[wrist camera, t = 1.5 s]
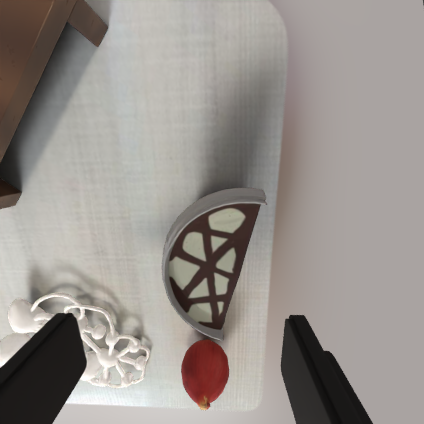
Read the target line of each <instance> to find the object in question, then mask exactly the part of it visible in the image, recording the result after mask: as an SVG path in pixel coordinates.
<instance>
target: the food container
mask: <svg viewBox="0 0 424 424" xmlns="http://www.w3.org/2000/svg"><path fill="white" fill-rule="evenodd" d="M265 200H266V196H265V193H264V191H263V190H261V189H254V188H232V189H226V190H221V191H218V192H215V193H212V194H209V195H207V196H205V197H203V198H201V199H199V200H197V201H196V202H194V203H193V204H192V205H190V206H189V207H188V208H187V209H186V210H185V211H184V212H183V213H182V214H181V215H180V216H179V217H178V218H177V219H176V221H175V222H174V224H173V225H172V227H171V229H170V231H169V233H168V235H167V238H166V242H165V245H164V251H163V259H162V277H163V282H164V286H165V289H166V293H167V296H168V298H169V300H170V303H171V305H172V306H173V308H174V309H175V311H176V312H177V314H178V315H179V316H180V317H181V318H182V319H183V320H184V321H185V322H186V323H187V324H189V325H190V326H191V327H192V328H194V329H195V330H197V331H199V332H200V333H202V334H204V335H207V336H209V337H211V338H214V339H217V340H221V341H223V324H224V322H225V317H226V313H227V310H228V307H229V304H230V301H231V298H232V295H233V292H234V289H235V287H236V284H237V281H238V278H239V276H240V272H241V268H242V265H243V261H244V258H245V254H246V251H247V247H248V244H249V241H250V238H251V234H252V231H253V228H254V225H255V222H256V218H257V215H258V212H259V209H260V205H261V204H263V205H267V203H266V202H265Z"/></svg>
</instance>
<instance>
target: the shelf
mask: <svg viewBox="0 0 424 424" xmlns="http://www.w3.org/2000/svg"><path fill="white" fill-rule="evenodd" d="M66 22H68V23H69V24H71V25H72V26H73V27H74V28H75V29H77V30H78V31H79V32H80V33H81V34H82V35H84V36H85V37H86V38H87V39H88V40H89V41H91V42H92V43H93V44H94V45H95V46H97V47H98V46H99V44H100V42H101V40H102V38H103V37H104V35H105V33H106V31H107V29H108V26H107V25H106V24H105V23H104V22H103V21H102V20H101V19H100V17H99V16H98V15H97V14H96V13H95V12H94V11H93V10H92V8H91V7H90V6H89V5H88V4H87V3H86V2H85V1H84V0H0V163H1V161H2V158H3V156H4V154H5V152H6V150H7V148H8V146H9V143H10V141H11V139H12V137H13V135H14V133H15V131H16V129H17V126H18V124H19V122H20V120H21V118H22V116H23V114H24V111H25V109H26V107H27V105H28V103H29V101H30V99H31V97H32V94H33V92H34V90H35V88H36V86H37V84H38V82H39V79H40V77H41V75H42V73H43V71H44V69H45V67H46V65H47V62H48V60H49V58H50V56H51V54H52V52H53V50H54V47H55V45H56V43H57V41H58V39H59V37H60V35H61V33H62V30H63V28H64V26H65V24H66ZM21 193H22V192H20V191H19V190H17V189H16V188H14V187H13V186H11V185H10V184H9V183H7V182H6V181H4V180H3V179H1V178H0V209H2V208H6V207H10V206H14V205H16V203H17V201H18V199H19V197H20V195H21Z"/></svg>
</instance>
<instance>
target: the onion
mask: <svg viewBox="0 0 424 424" xmlns="http://www.w3.org/2000/svg"><path fill="white" fill-rule="evenodd" d="M181 373H182V380H183V385H184V388H185V390H186V392H187V393H188V395H189V396H190V397H191V398H192V400H193V401H194V402H196V403H197V404H198V406H199V407H200V409H201V410H207V409H208V408H209V407H210V404H209V403H211V402H213V401H214V400H216V399H217V398H218V397H219V395H220V394H221V393H222V392H223V390H224V388H225V385H226V383H227V381H228V377H229V366H228V359H227V356H226V354H225V352H224V351H223V349H222V348H221V347H220V346H219V345H218V344H216V343H215V342H213V341H211V340H209V339H205V340H201V341H198V342H195V343H194V344H193V345H192V346H191V347H190V348H189V349H188V350H187V352H186V354H185V356H184V359H183V362H182V368H181Z"/></svg>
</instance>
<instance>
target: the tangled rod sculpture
mask: <svg viewBox="0 0 424 424" xmlns="http://www.w3.org/2000/svg"><path fill="white" fill-rule="evenodd" d="M55 296H58V297H65V298H67V299H69V300H71V301H72V302H73V303H74V304H71V305H68V306H66V307H65V309H64V313H68V309H70V308H79V309H80V312H81V313H75V314H73V315H74V317H76V318H77V322H78V326H79V330H80V334H81V338H82V339H83V340H84V341H85V342H86V343H87V344H88V345H89V346H90V347H91V348H92V349H93V350H94V351H89V352H86V350H85V348H84V351H85V355H86V359H87V366H86V369H85V371H84V373H83V375H82V376H81V378H80V380H86V381H87V382H89V383H91V384H93V385H97V386H102V387H104V386H106V385H107V386H108V387H110V388H121V387H128V386H130V385H131V384H135V383H138V382H140V381H141V380H142V379H143V378H144V376H145V366H146V364H147V360H148V358H149V356H150V350H149V349H148V348H147V347H146V346H143V345H141V342H140V340H139V339H137V338H134V337H132V336H131V335H126V334H125V335H119V333H118V332H117V331H115V329H114V324H113V321H112V318H111V316H110V314H109V313H108V312H107V311H106V310H105V309H103V308H100V307H95V306H90V305H83V304H81V303H80V302H79V301H78V300H77V299H76V298H74V297H73V296H71V295H69V294H66V293H59V292H56V293H51V294H48V295H45V296H43V297H41V298H39V299H38V300H36V302H35V303H34V305H33V304H30V303H29V302H27V301H26V300H24V299H21V298H18V299H16V300H14V301H13V302H12V304H11V305H10V307H9V310H8V320H9V323H10V325H11V327H12V329H13V330H14V331H15V332H17V333H12V334H10V335H8V336H6V337H4V338H3V339H2V340H1V341H0V366H3V365H4V364H5V363H6V362H7V361H8V360H9V359H10V358H11V357H12V356H13V355H14V354H15V353H16V352H17V351H18V350H19V349H20V348H21V347H22V346H23V345H24V344H25V343H27V342H28V341H29V340H30V339H31V337H30V336H29V335H28V334H26V333H29V332H35V333H37V332H38V331H39V330H40V329H41V328H42V327H43V326H44V325H45V324H42V323H43V322H44V320H45V319H46V320H50V319H51V318H52V317H53V316H54V315H53V314H50V313H45V311H44V310H43V309H42V308H40V307H38V304H39V303H40V302H41V301H43V300H45V299H47V298H50V297H55ZM84 309H89V310H94V311H99V312H101V313H103V314H104V315H105V316H106V317H107V319H108V321H109V324H110V328H111V332H109V333H108V334H107V336H106V340H105V341H106V343H107V345H109V346H110V347H109V349H107V348H101V349H100V348H99V347H98V346H97V345H96V344H95V343H94V342H93V341H92V340H91V339H90V338H89V337H88V336H87V335H86V334H85V333H84V332H89V333H92V337H93V338H94V339H100V338H102V337H103V336H104V335H105V333H106V327H105V326H104V325H102V324H100V325H97V326H95V327H94V328H92V327H87V326H88V319H87V317H86V316H85V315H84V314H85V310H84ZM120 338H127V339H130V340H131V341H130V342H129V344H128V347H127V348H125V349H124V350H122V351H120V352H118V351H117V350H116V349H114V345H115V344H116V343H117V342H118V341H119V339H120ZM83 347H84V346H83ZM139 349H144V350H145V351H146V352H147V356H146V357H145V356H139V357H138V358H137V359H136V360H135V359H132V358H129V357H126V356H123V355H124V354H126V353H127V352H129V351H130V352H132V353H134V352H137V351H138V350H139ZM119 360H120V361H123V362H126V363H129V364H132V365H135V368H136V369H137V370H142V376H141V377H140V378H139V379H137V380H133V374H132V373H131V372H127V373H125V371H124V369H123V368H122V366H121V365H120V363H119ZM102 365H103V366H104V372H103V373H102V374H101V375H100V376H99V378H98V379H96V378H94V377H95V376H96V375H97V374H98V373H99V371H100V370H101V368H102ZM113 366H116V368H117V370H118V371H119V373H120V374H121V376H122V378H121V384H118V385H114V384H111V383H110V381H111V377H112V376H111V373H110V372H109V371H108V370H109V367H113Z"/></svg>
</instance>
